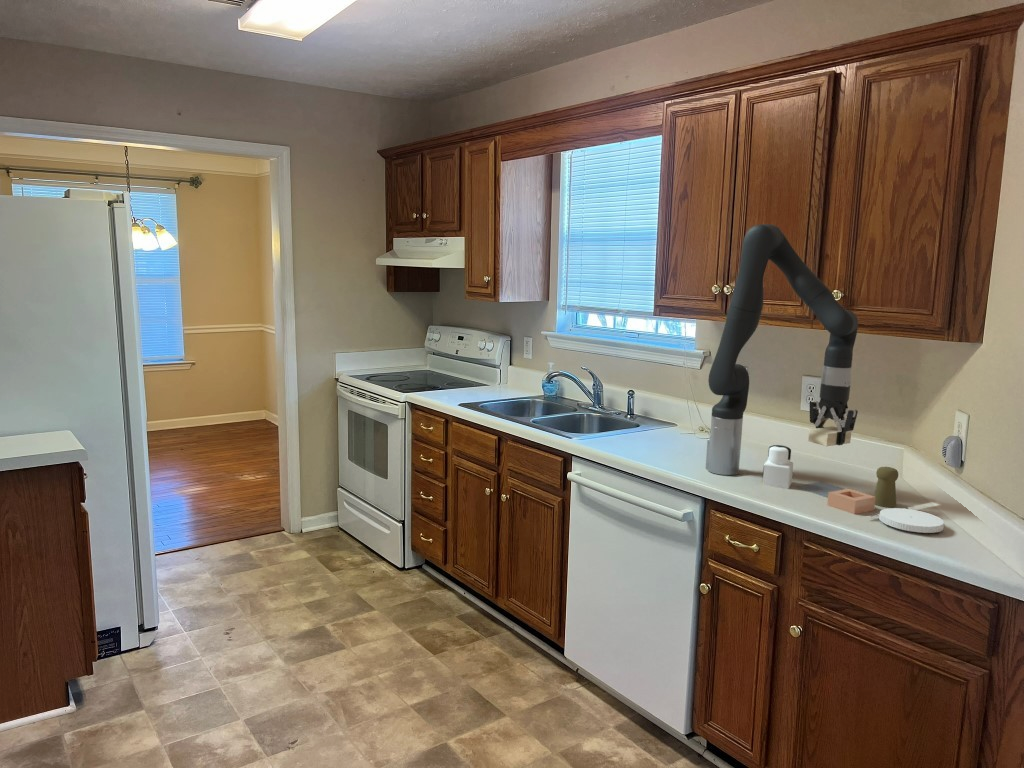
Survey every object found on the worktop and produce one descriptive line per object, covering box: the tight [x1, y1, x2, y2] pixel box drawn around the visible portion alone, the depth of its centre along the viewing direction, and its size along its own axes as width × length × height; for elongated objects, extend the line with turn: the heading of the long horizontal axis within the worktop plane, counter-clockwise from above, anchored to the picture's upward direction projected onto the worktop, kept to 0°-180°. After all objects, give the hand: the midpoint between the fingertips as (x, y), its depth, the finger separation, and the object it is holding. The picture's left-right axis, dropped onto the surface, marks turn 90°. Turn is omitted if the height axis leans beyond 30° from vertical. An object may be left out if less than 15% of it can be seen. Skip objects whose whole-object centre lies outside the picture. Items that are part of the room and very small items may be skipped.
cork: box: [873, 466, 899, 509], centre depth 197 cm, size 6×6×11 cm
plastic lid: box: [878, 507, 945, 534], centre depth 184 cm, size 14×14×2 cm
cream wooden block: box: [807, 426, 852, 447], centre depth 208 cm, size 6×10×4 cm, turn 120°
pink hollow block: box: [826, 488, 876, 515], centre depth 194 cm, size 8×8×4 cm
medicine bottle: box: [761, 444, 794, 490], centre depth 214 cm, size 7×7×12 cm
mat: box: [792, 481, 845, 499], centre depth 210 cm, size 12×12×1 cm
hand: (829, 441), depth 208 cm, fingers closed on cream wooden block, 6 cm apart
